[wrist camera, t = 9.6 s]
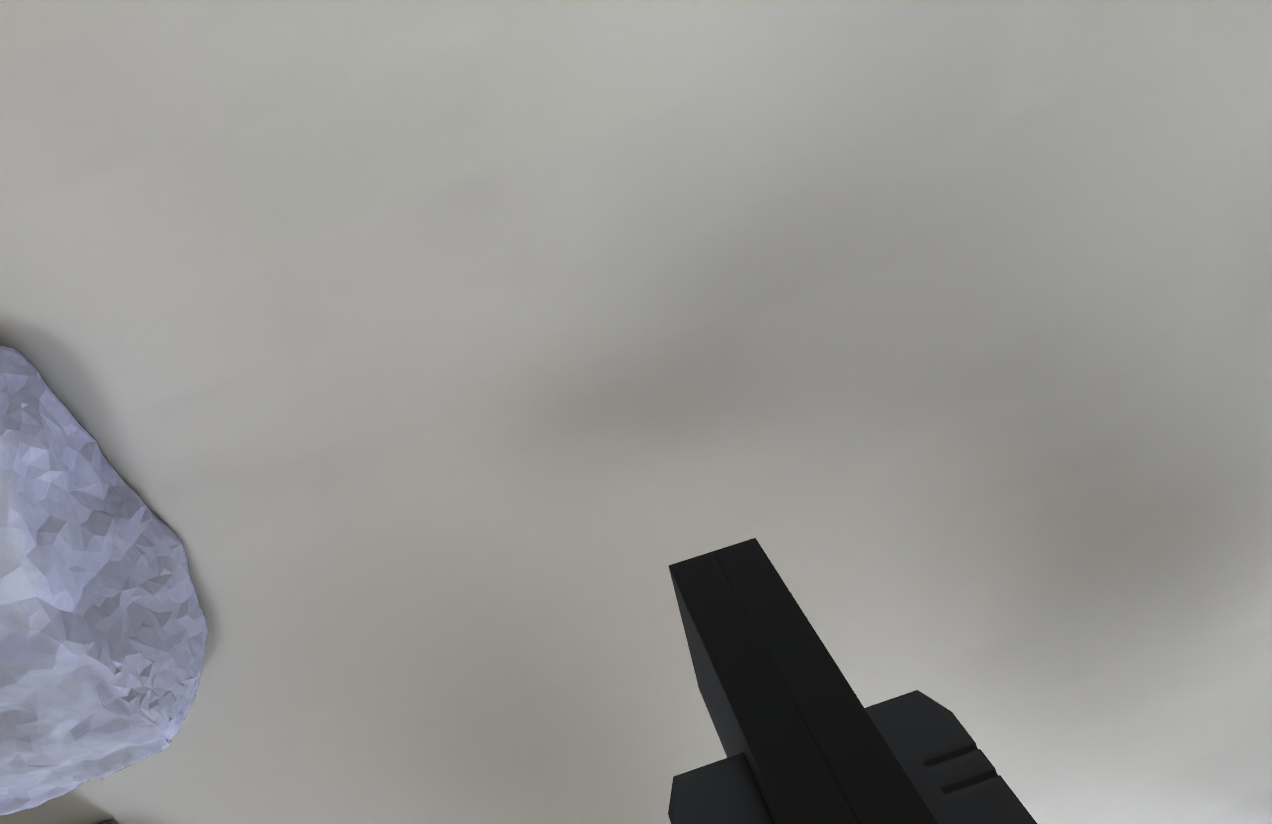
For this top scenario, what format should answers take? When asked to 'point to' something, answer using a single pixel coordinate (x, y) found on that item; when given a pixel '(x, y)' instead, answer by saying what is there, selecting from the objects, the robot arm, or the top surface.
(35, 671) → the stone block
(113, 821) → the walnut block
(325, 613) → the top surface
